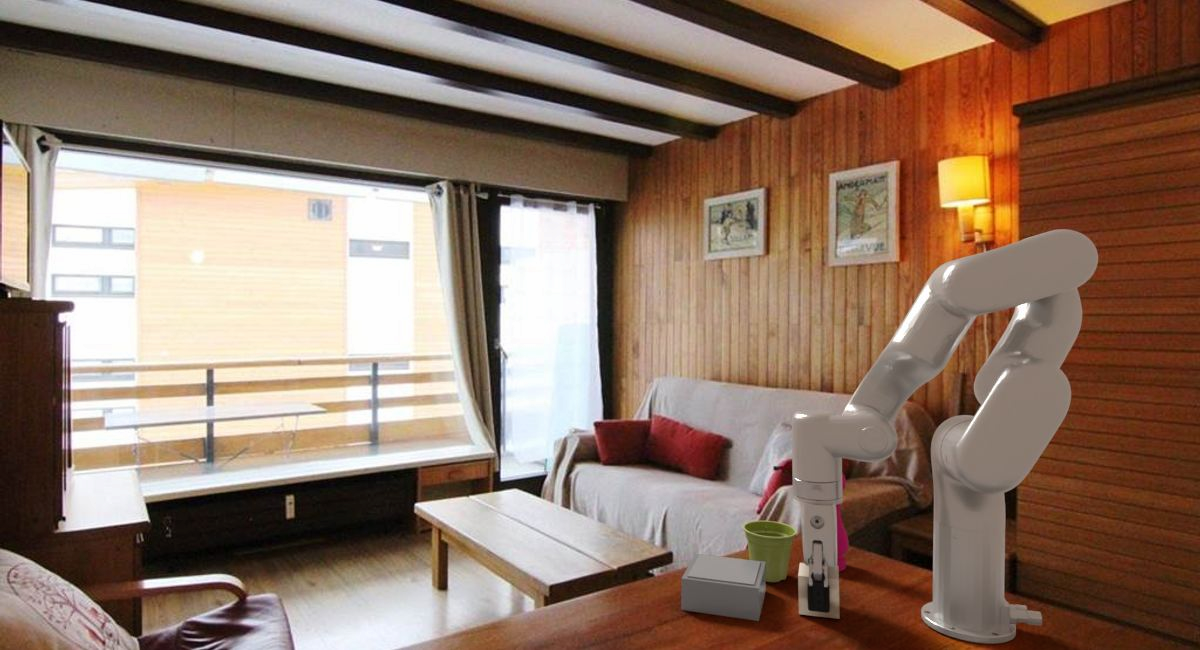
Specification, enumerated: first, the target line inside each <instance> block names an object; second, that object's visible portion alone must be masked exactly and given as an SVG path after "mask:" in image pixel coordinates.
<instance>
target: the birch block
mask: <svg viewBox="0 0 1200 650" xmlns="http://www.w3.org/2000/svg"><path fill="white" fill-rule="evenodd" d="M798 565H799V567H798V573H797V580H798V581H797V586H798V587H797V589H798V594H797V595H798V615H804V616H811V617H818V618H821V617H822V618H830V619H837V620H838V619H839V620H840V618H841V617H840V577H839V576H840V574H839V573H840V571H839V567H838V566H837V567H836V568H835V569H833V567H829V566H828V565H827V567H828V569H827V573H828V586H829V591H830V612H829V613H825V612H816V611H809V610H808V584H809V564H808V566H807V565H805V563H804V562H799V564H798ZM822 573H824V570H822Z"/></svg>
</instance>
